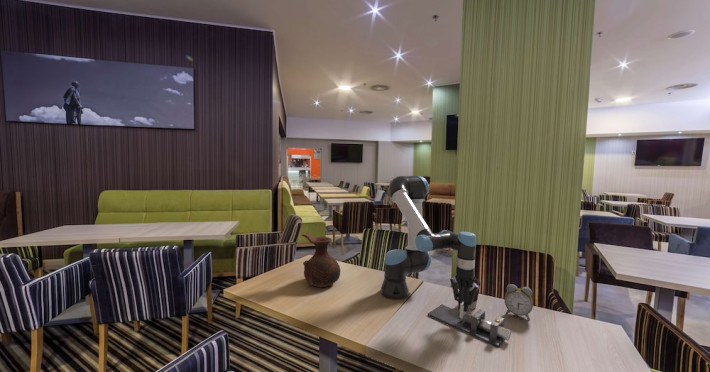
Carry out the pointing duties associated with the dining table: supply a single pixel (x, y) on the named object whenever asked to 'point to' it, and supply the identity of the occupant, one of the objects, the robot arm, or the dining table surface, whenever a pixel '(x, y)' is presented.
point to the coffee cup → (475, 295)
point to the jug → (321, 264)
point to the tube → (486, 326)
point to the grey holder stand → (455, 321)
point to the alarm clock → (518, 300)
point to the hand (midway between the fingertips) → (462, 317)
